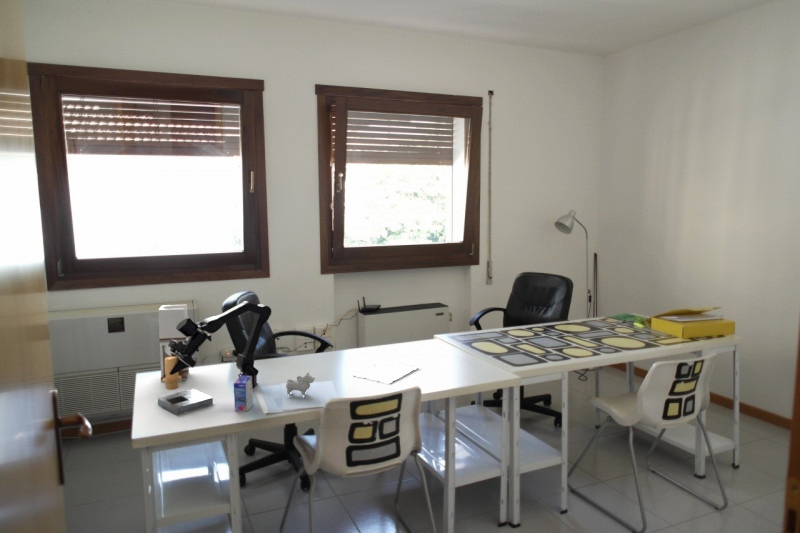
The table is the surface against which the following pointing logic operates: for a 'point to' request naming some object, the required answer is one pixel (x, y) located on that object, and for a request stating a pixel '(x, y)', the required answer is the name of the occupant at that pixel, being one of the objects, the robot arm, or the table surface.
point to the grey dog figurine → (300, 383)
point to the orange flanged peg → (174, 379)
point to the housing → (185, 401)
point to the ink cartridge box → (243, 393)
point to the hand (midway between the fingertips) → (168, 372)
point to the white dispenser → (171, 333)
